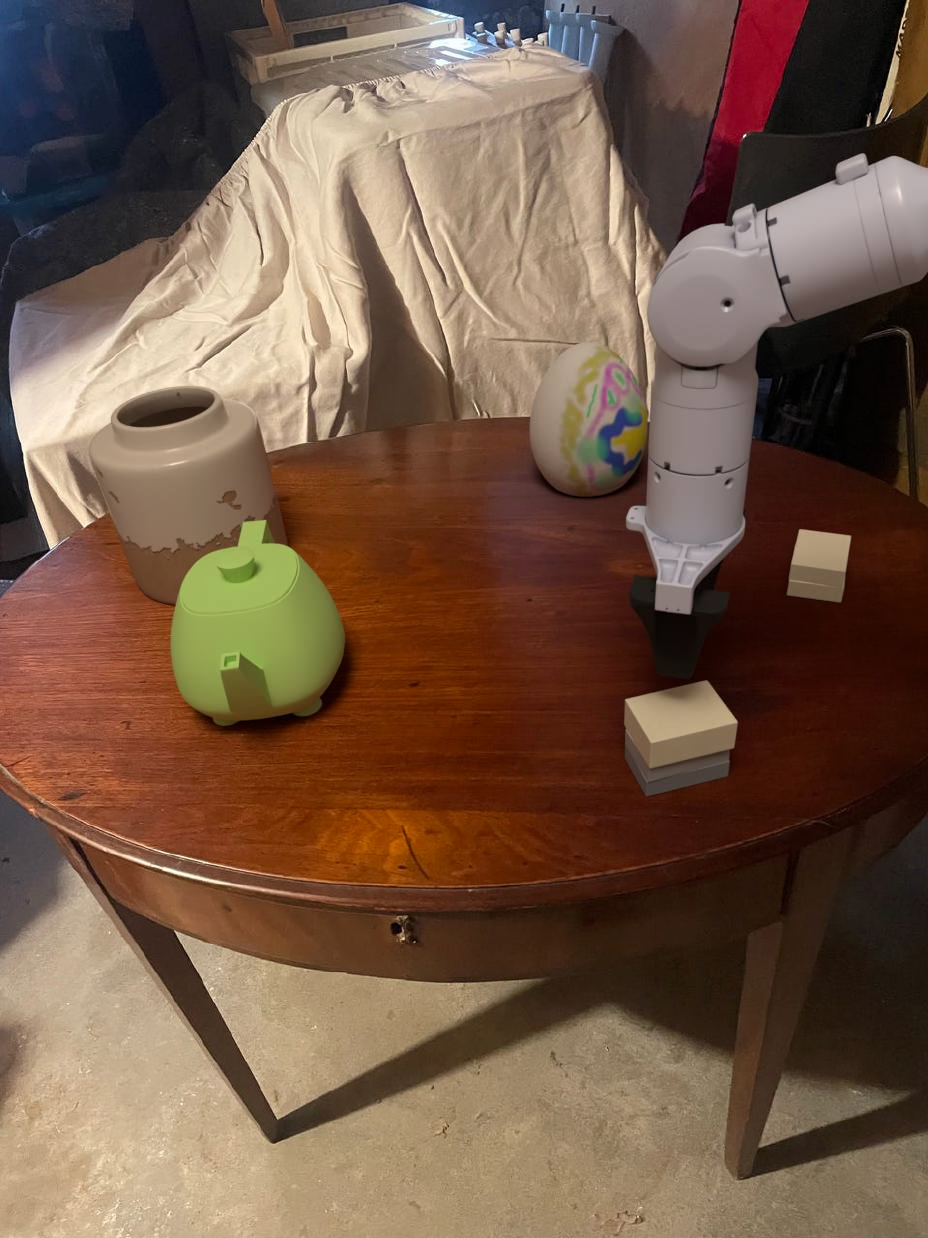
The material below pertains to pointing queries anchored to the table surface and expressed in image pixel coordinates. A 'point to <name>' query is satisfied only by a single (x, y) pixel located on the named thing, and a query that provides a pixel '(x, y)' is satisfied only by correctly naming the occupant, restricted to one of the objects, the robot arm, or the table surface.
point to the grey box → (674, 770)
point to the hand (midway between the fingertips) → (683, 637)
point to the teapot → (254, 632)
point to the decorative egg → (588, 422)
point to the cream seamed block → (819, 566)
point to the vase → (182, 481)
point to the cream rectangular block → (679, 724)
